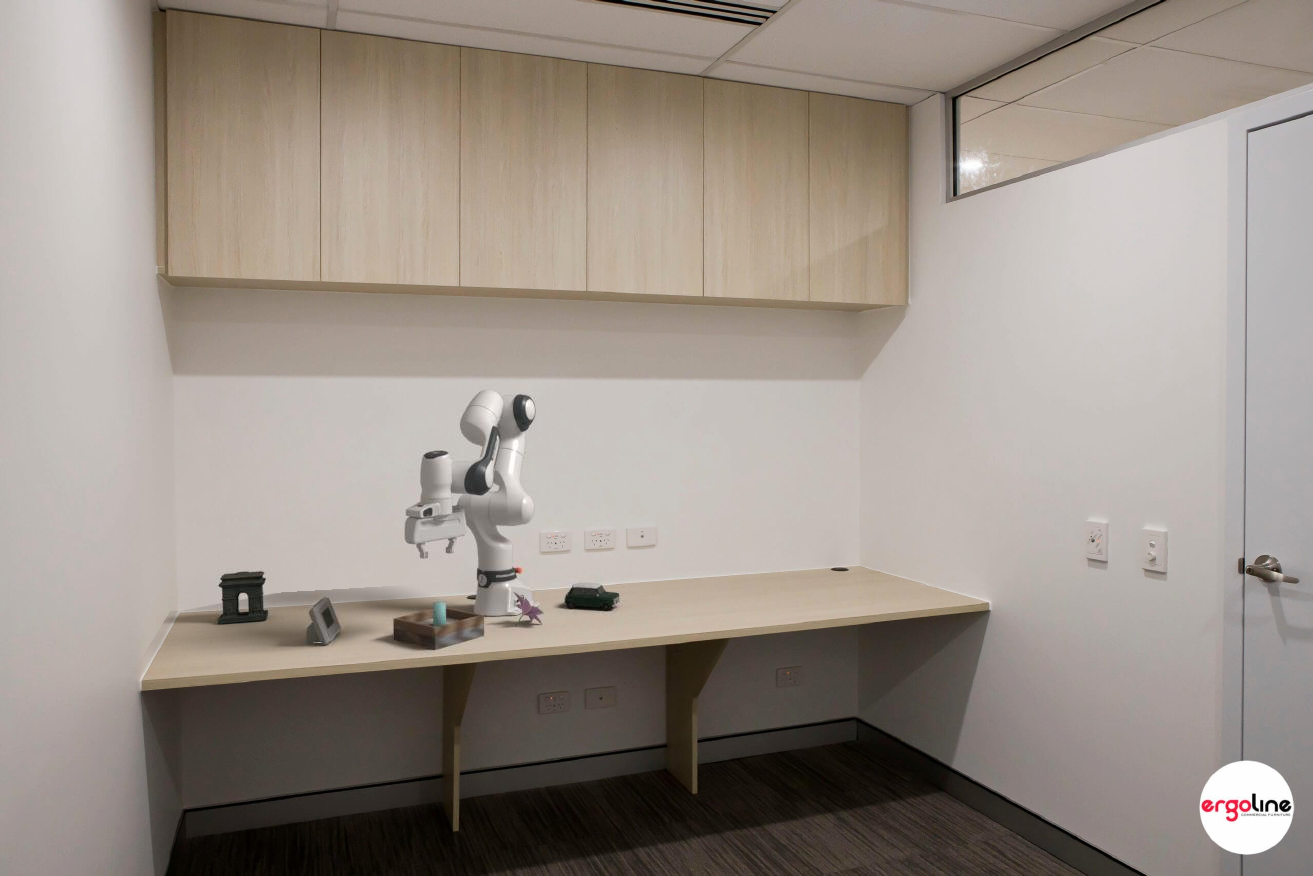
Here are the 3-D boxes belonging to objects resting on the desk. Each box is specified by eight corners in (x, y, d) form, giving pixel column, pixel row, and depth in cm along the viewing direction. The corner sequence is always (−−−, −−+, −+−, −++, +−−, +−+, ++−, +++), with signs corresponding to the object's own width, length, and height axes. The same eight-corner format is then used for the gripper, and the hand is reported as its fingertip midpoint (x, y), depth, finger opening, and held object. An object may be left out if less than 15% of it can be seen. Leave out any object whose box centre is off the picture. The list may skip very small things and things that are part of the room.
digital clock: (327, 647, 240) (326, 609, 240) (295, 646, 240) (295, 608, 240) (351, 631, 256) (350, 596, 256) (321, 631, 257) (320, 595, 256)
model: (268, 614, 276) (267, 568, 276) (267, 621, 268) (266, 573, 267) (220, 618, 271) (219, 571, 271) (217, 625, 263) (216, 576, 262)
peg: (440, 635, 252) (440, 601, 252) (448, 637, 250) (448, 602, 250) (430, 638, 249) (430, 603, 249) (438, 640, 247) (438, 605, 247)
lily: (543, 633, 259) (553, 603, 262) (506, 620, 256) (517, 589, 260) (534, 636, 270) (544, 606, 273) (498, 623, 267) (509, 594, 270)
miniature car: (614, 612, 282) (614, 588, 282) (561, 609, 286) (561, 585, 286) (621, 606, 291) (621, 582, 290) (570, 603, 295) (570, 579, 294)
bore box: (442, 626, 262) (442, 606, 262) (484, 635, 252) (484, 615, 252) (393, 639, 248) (393, 618, 247) (435, 649, 237) (435, 628, 237)
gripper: (456, 503, 259) (457, 549, 260) (400, 510, 242) (401, 559, 243) (471, 504, 255) (471, 551, 256) (415, 512, 239) (416, 562, 239)
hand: (436, 555), depth 249 cm, fingers open, 8 cm apart
